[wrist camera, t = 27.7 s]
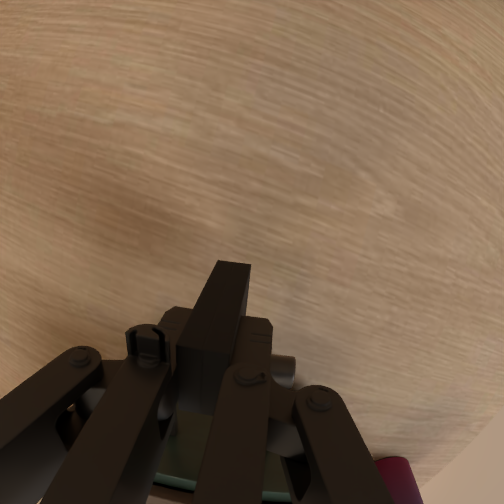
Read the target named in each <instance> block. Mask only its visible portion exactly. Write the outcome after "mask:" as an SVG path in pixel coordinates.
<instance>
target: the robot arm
mask: <svg viewBox="0 0 504 504" xmlns="http://www.w3.org/2000/svg"><path fill="white" fill-rule="evenodd" d="M250 270H251V264H244V263H236V262H228V261H220V260H218V261H217V263H216V265H215V267H214V269H213V271H212V273H211V275H210V277H209V279H208V280H207V282H206V284H205V286H204V288H203V290H202V292H201V294H200V296H199V298H198V300H197V302H196V304H195V306H194V308H193V309H189V308H182V307H176V306H175V307H173V308H171V309H170V310H168V311H166V312H165V314H164V315H163V317H162V319H161V321H160V322H159V323H158V325H152V324H142V325H137V326H134V327H132V328H130V329H129V330H127V331H126V332H125V335H126V343H127V350H128V356H127V358H126V359H125V360H102V359H101V356H100V353H99V352H98V351H97V350H96V349H94V348H91V347H88V346H77V347H72V348H70V349H68V350H66V351H65V352H63V353H62V354H61V355H59V356H58V357H57V358H55V359H54V360H52V361H51V362H50V363H48V364H47V365H46V366H44V367H43V368H42V369H40V370H39V371H38V372H36V373H35V374H33V375H32V376H31V377H29V378H28V379H27V380H25V381H24V382H23V383H21V384H20V385H19V386H17V387H16V388H15V389H13V390H12V391H11V392H9V393H8V394H7V395H5V396H4V397H3V398H1V399H0V504H36V503H37V502H38V501H39V500H40V499H41V498H42V497H43V496H44V497H43V498H42V500H41V502H40V504H146V501H147V499H148V496H149V493H150V490H151V487H152V484H153V481H154V478H155V475H156V472H157V470H158V467H159V464H160V461H161V458H162V455H163V452H164V450H165V447H166V444H167V441H168V438H169V435H170V433H171V430H172V427H173V424H174V420H175V413H174V409H175V406H176V404H177V401H178V408H179V410H183V411H188V412H193V413H199V414H204V415H210V416H213V419H212V423H211V427H210V431H209V435H208V439H207V443H206V447H205V451H204V455H203V459H202V463H201V467H200V471H199V475H198V479H197V483H196V487H195V491H194V495H193V498H192V502H191V504H262V493H263V482H264V470H265V458H266V450H267V451H270V452H272V453H275V454H278V455H280V461H281V465H282V468H283V472H284V475H285V479H286V483H287V486H288V490H289V493H290V497H291V501H292V504H395V502H394V500H393V498H392V496H391V494H390V492H389V490H388V488H387V486H386V484H385V482H384V480H383V478H382V476H381V474H380V472H379V470H378V468H377V466H376V465H375V463H374V461H373V459H372V457H371V455H370V453H369V451H368V449H367V447H366V445H365V443H364V441H363V439H362V437H361V435H360V433H359V431H358V429H357V427H356V425H355V423H354V421H353V419H352V417H351V415H350V413H349V411H348V409H347V407H346V405H345V404H344V402H343V400H342V398H341V397H340V395H339V394H338V393H337V392H335V391H334V390H332V389H331V388H328V387H325V386H321V385H311V386H306V387H304V388H302V389H301V390H299V391H298V392H295V391H292V390H289V389H287V388H285V387H282V386H281V385H279V384H278V383H277V382H276V381H275V380H274V379H273V377H272V375H271V371H270V366H271V350H272V333H273V326H272V325H271V323H270V322H269V320H268V319H266V318H258V317H250V316H246V307H247V298H248V289H249V279H250ZM72 404H73V406H72V407H70V406H71V405H72ZM68 407H70V408H68ZM67 408H68V409H67Z"/></svg>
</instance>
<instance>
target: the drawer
mask: <svg viewBox="0 0 504 504" xmlns="http://www.w3.org/2000/svg"><path fill="white" fill-rule="evenodd" d="M295 368H296V360H295V357H292V356H283V355H274V354H271V366H270V371H271V375H272V377H273V379H274V380H275V381H276V382H277V383H278V384H279V385H281V386H282V387H285V388H287V389H291V388H292V385H293V382H294V376H295ZM295 392H298V391H295ZM174 413H175V420H174V424H173V427H172V430H171V433H170V435H169V438H168V441H167V444H166V447H165V450H164V452H163V455H162V458H161V461H160V464H159V467H158V470H157V472H156V475H155V478H154V481H153V484H154V485H158V486H162V487H166V488H170V489H174V490H179V491H183V492H188V493H193V494H194V491H195V487H196V483H197V479H198V475H199V471H200V467H201V463H202V459H203V455H204V451H205V447H206V443H207V439H208V435H209V431H210V427H211V423H212V419H213V416H210V415H204V414H199V413H193V412H188V411H183V410H179V408H178V401H177V404H176V406H175V409H174ZM262 504H292V501H291V497H290V493H289V490H288V486H287V483H286V479H285V475H284V472H283V468H282V465H281V461H280V455H278V454H275V453H272V452H270V451H267V450H266V458H265V470H264V482H263V493H262Z"/></svg>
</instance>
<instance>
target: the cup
mask: <svg viewBox="0 0 504 504" xmlns="http://www.w3.org/2000/svg"><path fill="white" fill-rule="evenodd" d="M374 463H375V465H376V466H377V468H378V470H379V472H380V474H381V476H382V478H383V480H384V482H385V484H386V486H387V488H388V490H389V492H390V494H391V496H392V498H393V500H394V502H395V504H423V501H422V498H421V495H420V492H419V489H418V487H417V484H416V481H415V478H414V476H413V473H412V470H411V468H410V465H409V462H408V460H407V459H405V458H402V457H390V458H385V459H381V460H379V461H376V462H374Z"/></svg>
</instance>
